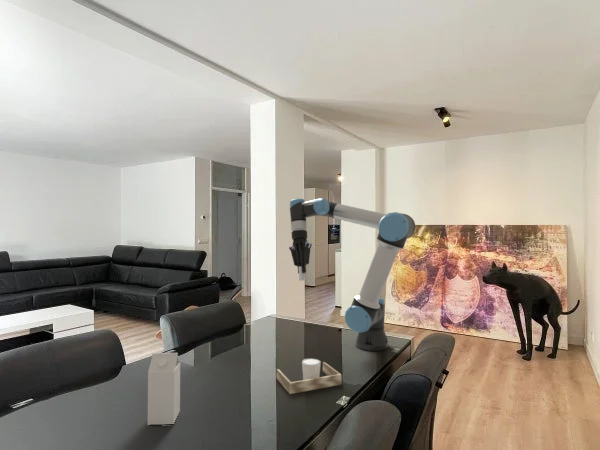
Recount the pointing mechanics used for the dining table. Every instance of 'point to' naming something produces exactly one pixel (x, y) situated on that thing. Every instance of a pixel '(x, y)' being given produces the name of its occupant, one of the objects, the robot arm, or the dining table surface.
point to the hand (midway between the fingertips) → (302, 280)
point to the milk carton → (163, 388)
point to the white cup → (311, 368)
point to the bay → (311, 381)
